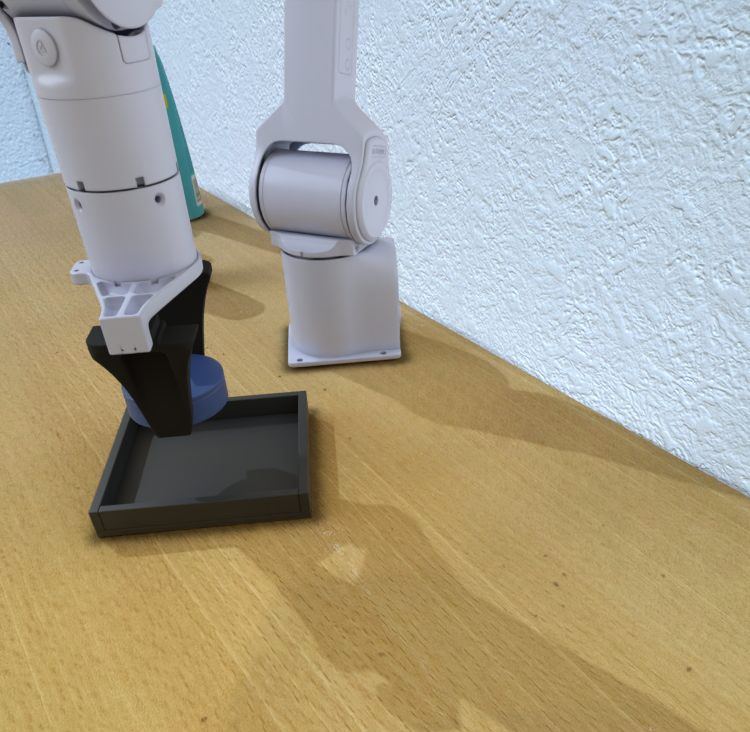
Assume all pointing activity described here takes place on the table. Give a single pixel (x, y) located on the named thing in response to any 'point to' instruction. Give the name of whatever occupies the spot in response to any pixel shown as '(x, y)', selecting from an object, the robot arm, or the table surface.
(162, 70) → the tube
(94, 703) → the table surface
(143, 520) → the tray
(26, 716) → the table surface
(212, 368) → the lid
